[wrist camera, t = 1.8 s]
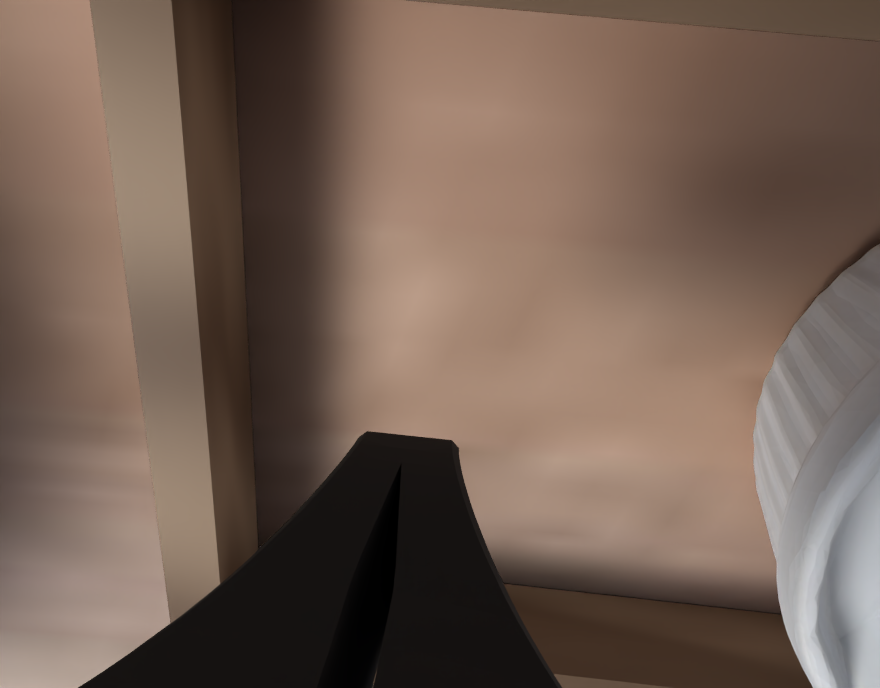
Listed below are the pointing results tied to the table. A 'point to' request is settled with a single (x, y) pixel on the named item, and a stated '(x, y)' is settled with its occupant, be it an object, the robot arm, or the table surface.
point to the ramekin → (827, 479)
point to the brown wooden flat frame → (226, 334)
